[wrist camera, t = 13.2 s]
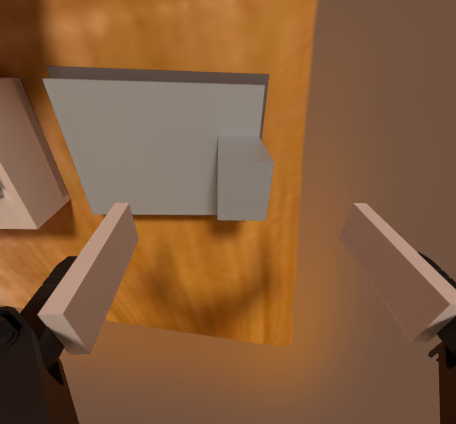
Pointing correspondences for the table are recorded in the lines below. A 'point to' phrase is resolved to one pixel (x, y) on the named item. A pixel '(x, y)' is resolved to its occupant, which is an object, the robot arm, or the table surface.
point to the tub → (25, 164)
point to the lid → (166, 146)
